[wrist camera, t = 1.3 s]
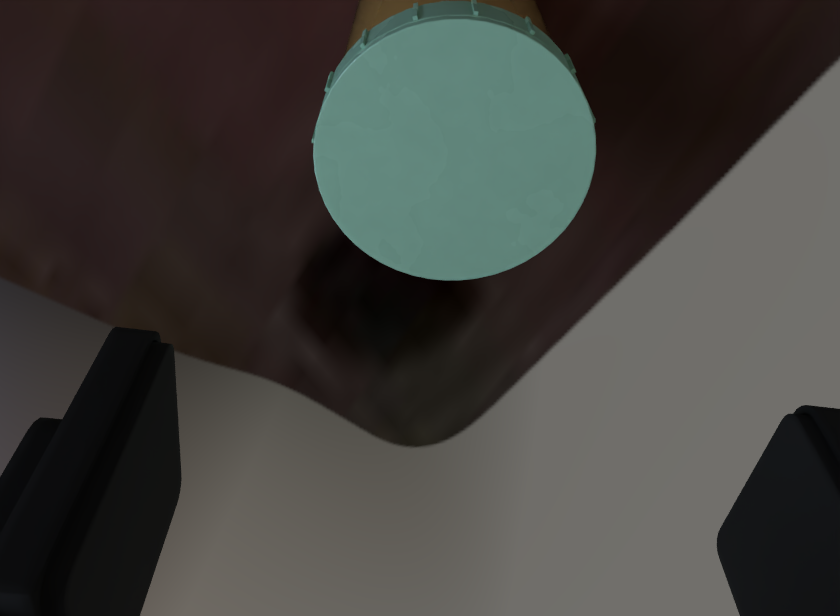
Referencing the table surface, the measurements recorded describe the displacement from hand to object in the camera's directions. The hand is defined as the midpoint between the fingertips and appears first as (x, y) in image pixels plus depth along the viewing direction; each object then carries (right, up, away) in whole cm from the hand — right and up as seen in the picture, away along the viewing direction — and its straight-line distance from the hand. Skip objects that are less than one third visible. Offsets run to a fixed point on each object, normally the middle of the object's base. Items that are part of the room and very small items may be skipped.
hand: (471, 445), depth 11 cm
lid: (0, +6, +8) cm, 10 cm away
